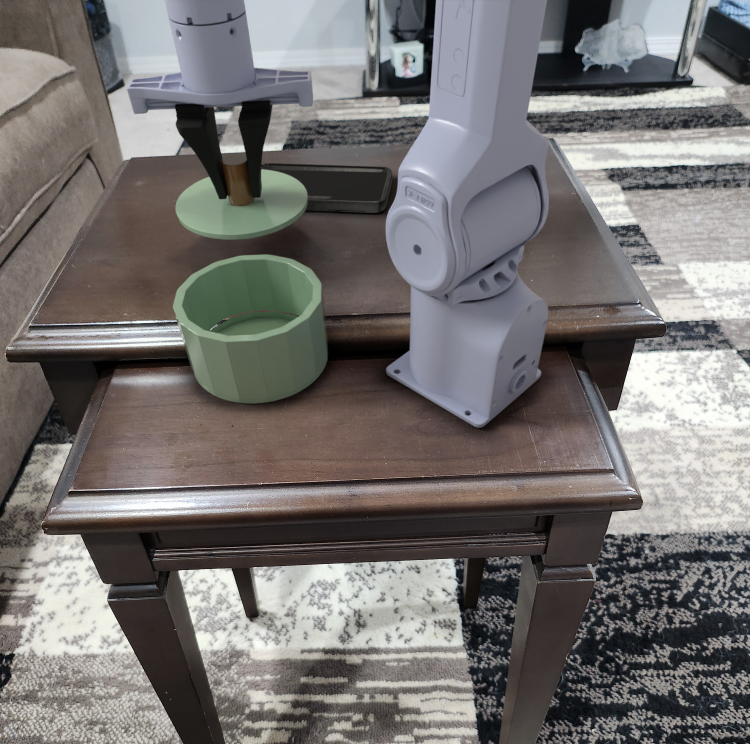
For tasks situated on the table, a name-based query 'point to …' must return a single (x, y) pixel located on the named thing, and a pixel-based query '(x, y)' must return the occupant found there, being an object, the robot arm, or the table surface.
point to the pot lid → (241, 203)
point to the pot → (253, 327)
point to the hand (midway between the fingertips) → (240, 193)
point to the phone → (341, 186)
